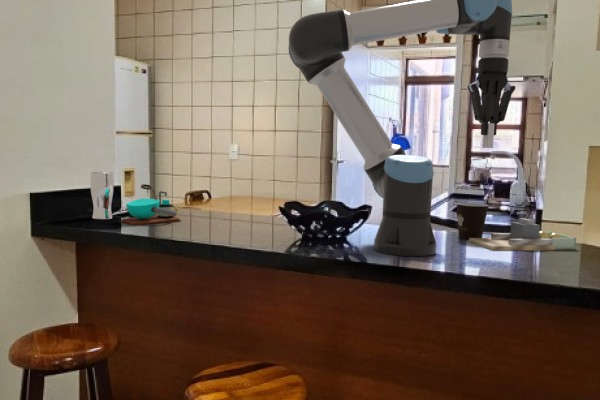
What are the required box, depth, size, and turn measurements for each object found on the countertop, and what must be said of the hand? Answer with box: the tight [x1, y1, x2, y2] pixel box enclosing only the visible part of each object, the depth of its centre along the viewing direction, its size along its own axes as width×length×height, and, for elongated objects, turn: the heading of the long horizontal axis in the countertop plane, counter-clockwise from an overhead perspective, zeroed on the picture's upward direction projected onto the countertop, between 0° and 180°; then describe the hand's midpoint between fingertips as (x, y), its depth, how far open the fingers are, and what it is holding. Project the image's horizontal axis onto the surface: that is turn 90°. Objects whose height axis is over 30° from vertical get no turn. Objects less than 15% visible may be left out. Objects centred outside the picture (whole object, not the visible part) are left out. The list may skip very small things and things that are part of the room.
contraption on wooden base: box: [119, 184, 182, 227], centre depth 165 cm, size 14×18×15 cm
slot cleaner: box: [509, 217, 541, 239], centre depth 143 cm, size 5×6×6 cm
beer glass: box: [90, 171, 115, 220], centre depth 170 cm, size 7×7×15 cm
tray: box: [545, 231, 577, 250], centre depth 145 cm, size 7×10×3 cm
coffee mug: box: [456, 202, 489, 241], centre depth 154 cm, size 12×9×10 cm
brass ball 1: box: [539, 230, 548, 239], centre depth 147 cm, size 3×3×3 cm
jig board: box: [468, 232, 556, 251], centre depth 143 cm, size 18×12×3 cm, turn 101°
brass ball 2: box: [548, 232, 561, 239], centre depth 144 cm, size 3×3×3 cm
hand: (487, 147), depth 142 cm, fingers closed
